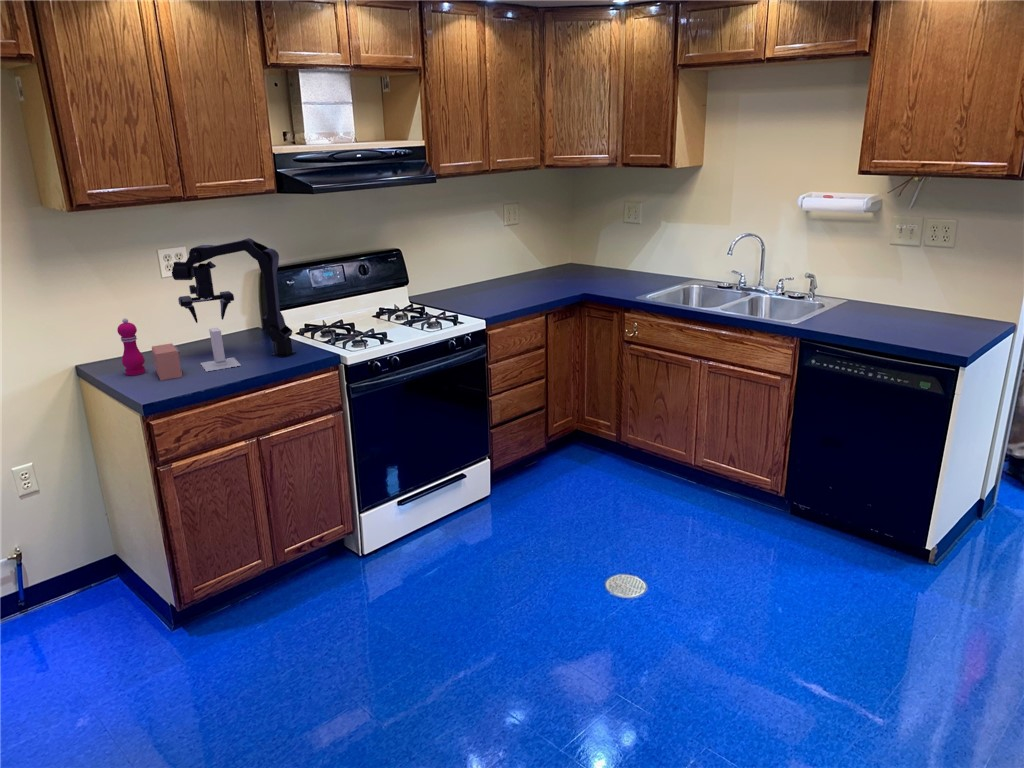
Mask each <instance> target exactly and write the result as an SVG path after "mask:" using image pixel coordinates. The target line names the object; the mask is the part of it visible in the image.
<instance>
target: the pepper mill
mask: <svg viewBox="0 0 1024 768" xmlns="http://www.w3.org/2000/svg"><path fill="white" fill-rule="evenodd" d="M137 331H138V329H137V327H136V325H135V324H134V323H133V322H129V319H128V318H122V323H120V324H118V326H117V331H116V332H117V333H118V335H119V336H120V342H122V343H123V344H122V345H123V354H122V357H121V365H122V366H123V367H125V369H124V370H125V375H126V376H129V377H130V376H131V377H132V376H138V375H142V373H143V374H145V373H146V368H145V366H144V364H145V360H146V359H145V357H144V355H143V353H142V352H141V351H140V349H139V347H138V345H137V340H138V338H137Z"/></svg>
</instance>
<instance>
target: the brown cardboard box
mask: <svg viewBox="0 0 1024 768" xmlns="http://www.w3.org/2000/svg"><path fill="white" fill-rule="evenodd" d="M151 352H152V358H153V362H154V367H155V371H156V374H157V376H158V378H159V379H160V381H165V380H171V379H178V378H183V372H182V366H181V360H180V354H181V351H180V350H179V348H178V347H177V346H176V345H174V344H173V343H172V342H171V343H166V344H159V345H154V346H153V345H152V346H151Z"/></svg>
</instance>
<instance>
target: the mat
mask: <svg viewBox="0 0 1024 768" xmlns="http://www.w3.org/2000/svg"><path fill="white" fill-rule="evenodd" d="M225 360H226V365H224V366H217V365H216V364H215V361H214V360H211V361H203V362H200V363H199V364H200V366H201V365H202V366H201V367H202V368H203V370H204V369H205V370H204V371H205V372H206V373H209V372H208V371H212V372H214V371H213V370H217V371H220V370H219V369H223V370H226V369H225V368H229V369H232V368H231V367H235V368H238V367H237V366H240V367H242V365H241V363H240V362H239V361H238V360H237V359H236V357H229V358H228V357H227V358H225Z"/></svg>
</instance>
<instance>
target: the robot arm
mask: <svg viewBox="0 0 1024 768" xmlns="http://www.w3.org/2000/svg"><path fill="white" fill-rule="evenodd" d="M243 251H244V252H246V253H248V255H249V256H250V257H252V258H253V259H254V260H256V261H257V263H258V266H259V269H260V271H261V273H262V275H263V284H264V293H265V302H266V312H267V313H266V315H265V316H263V317H262V324H263V326H262V329H263V330H264V332H265V334H267V336H269V338H270V340H271V342H272V344H273V353H271V355H272V356H276V357H280V358H281V357H282V358H285V357H288V356H291V355H294V354H296V353H297V351H295V350H293V344H292V338H290V337H291V336H292V335H293V334H292V333H293V330H292V328H290V327H289V326H287V325H286V321H285V318H284V316H283V313H282V312H281V307H280V299H279V289H278V288H279V287H278V278H277V273H278V267H279V261H280V254H279V252H277V250H276V249H274V248H269V247H267V246H266V245H264V244H261V243H260V242H257V241H255V240H254V239H252V238H250V237H248V238H247V237H246V238H245V239H241V240H237V241H232V242H227V243H222V244H217V245H214V244H200V245H197V246H194V247H192V248H190V249H189V251H188V258H187V259H186V261H177V260H176V261H174V262H173V266H172V270H171V275H172V279H173V280H175V281H193V279H195V284H191V285H188V288H189V294H190V295H194V294H195V297H191V296H190V295H183V296H181V295H180V296H179V297H178V299H177V300H178V304H179V306H180V307H181V308H185V309H188V311H189V312H190V313H191V315H192V318H193V319H194V322H195V323H196V324H198V317H197V313H196V309H195V308H196V307H195V306H194V305H193V304H195V303H201V302H210V301H217V300H218V301H219V303H220V304H219V305H220V318H221V320H222V321H223V320H224V317H225V315H226V312H227V311H226V310H227V308H228V307H229V305H230V304H231V303H232V302H234V301H235V296H234V294H233V292H231V291H229V290H227V291H226V290H225V291H220V292H219V294H215V291H214V286H213V285H214V284H213V278H212V271H211V269H214V268H216V267H217V265H216V264H215V263H213V262H212V261H208V260H211V259H213V258H215V257H216V258H217V257H219V256H224V255H228V254H233V253H239V252H243ZM205 261H208V262H205ZM203 262H205V263H203ZM197 264H198V265H197Z"/></svg>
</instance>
